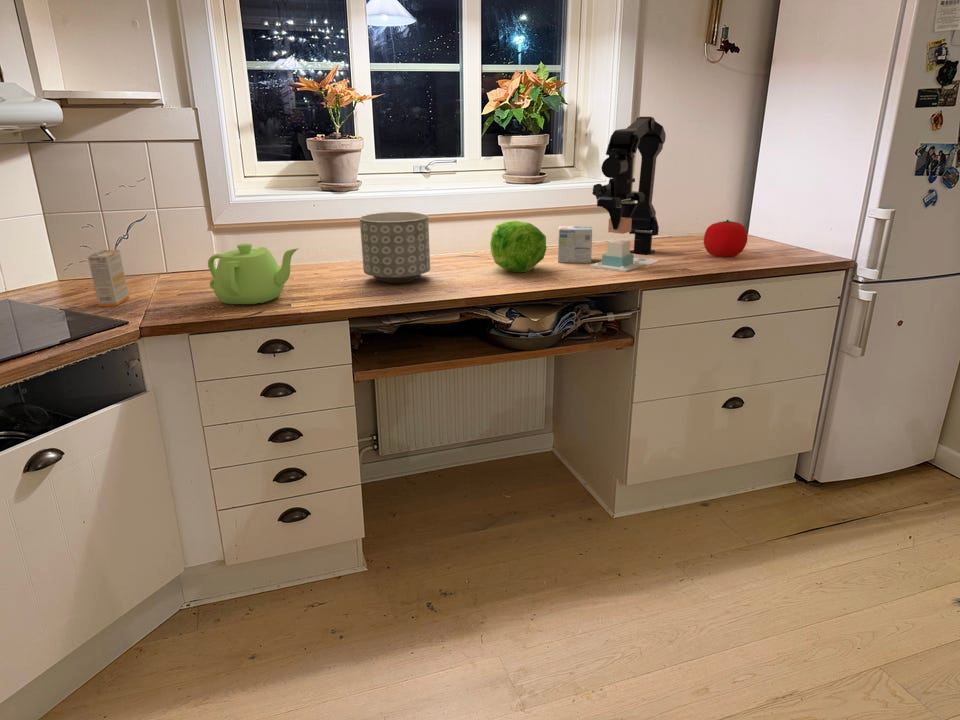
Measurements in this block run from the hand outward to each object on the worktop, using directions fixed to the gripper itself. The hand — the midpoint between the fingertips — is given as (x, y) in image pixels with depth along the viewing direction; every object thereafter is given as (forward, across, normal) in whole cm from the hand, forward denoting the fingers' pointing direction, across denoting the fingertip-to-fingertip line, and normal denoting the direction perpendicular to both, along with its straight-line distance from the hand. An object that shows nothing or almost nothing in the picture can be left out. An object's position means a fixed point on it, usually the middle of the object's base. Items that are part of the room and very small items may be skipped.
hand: (619, 228), depth 205 cm
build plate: (+12, 0, 0) cm, 12 cm away
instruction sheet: (+12, -10, +2) cm, 16 cm away
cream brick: (+8, 0, 0) cm, 8 cm away
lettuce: (+12, +23, -22) cm, 34 cm away
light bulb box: (+12, +1, -15) cm, 19 cm away
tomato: (+12, -34, +20) cm, 41 cm away
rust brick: (+1, 0, 0) cm, 1 cm away
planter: (+12, +54, -41) cm, 69 cm away
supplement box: (+12, +116, -82) cm, 143 cm away
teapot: (+12, +91, -55) cm, 107 cm away
